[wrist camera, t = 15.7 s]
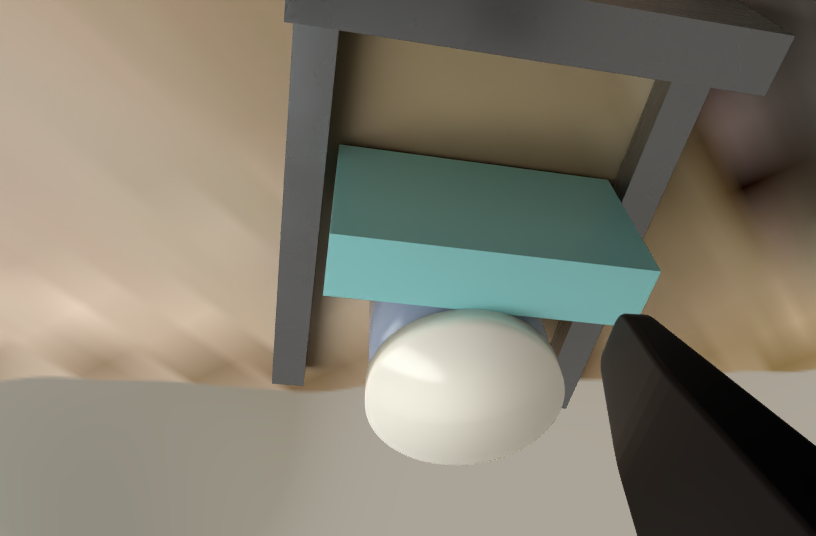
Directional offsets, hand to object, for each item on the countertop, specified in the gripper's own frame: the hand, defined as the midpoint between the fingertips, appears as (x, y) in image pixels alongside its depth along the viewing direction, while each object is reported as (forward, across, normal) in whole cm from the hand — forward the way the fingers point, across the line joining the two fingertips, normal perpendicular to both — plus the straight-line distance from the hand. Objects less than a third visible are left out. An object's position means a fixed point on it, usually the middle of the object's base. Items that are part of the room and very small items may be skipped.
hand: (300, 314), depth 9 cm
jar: (+11, -4, +8) cm, 15 cm away
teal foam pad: (+12, -5, +4) cm, 13 cm away
